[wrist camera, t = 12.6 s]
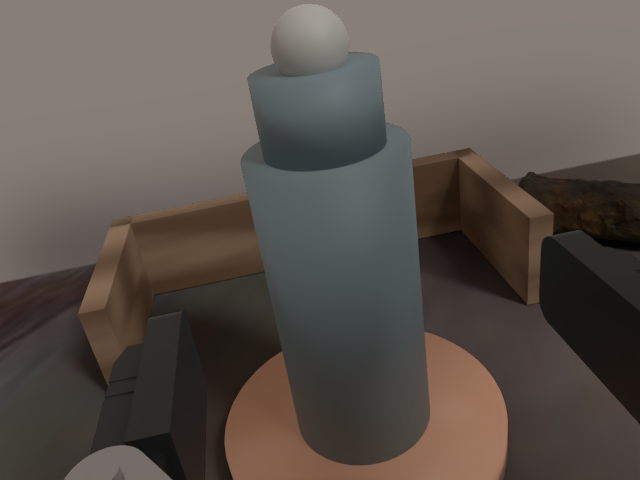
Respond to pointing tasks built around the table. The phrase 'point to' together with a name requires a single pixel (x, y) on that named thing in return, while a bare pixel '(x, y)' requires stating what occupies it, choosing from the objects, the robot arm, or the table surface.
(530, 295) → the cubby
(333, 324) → the pepper mill
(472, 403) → the trivet
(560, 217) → the brown piece
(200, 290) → the table surface
